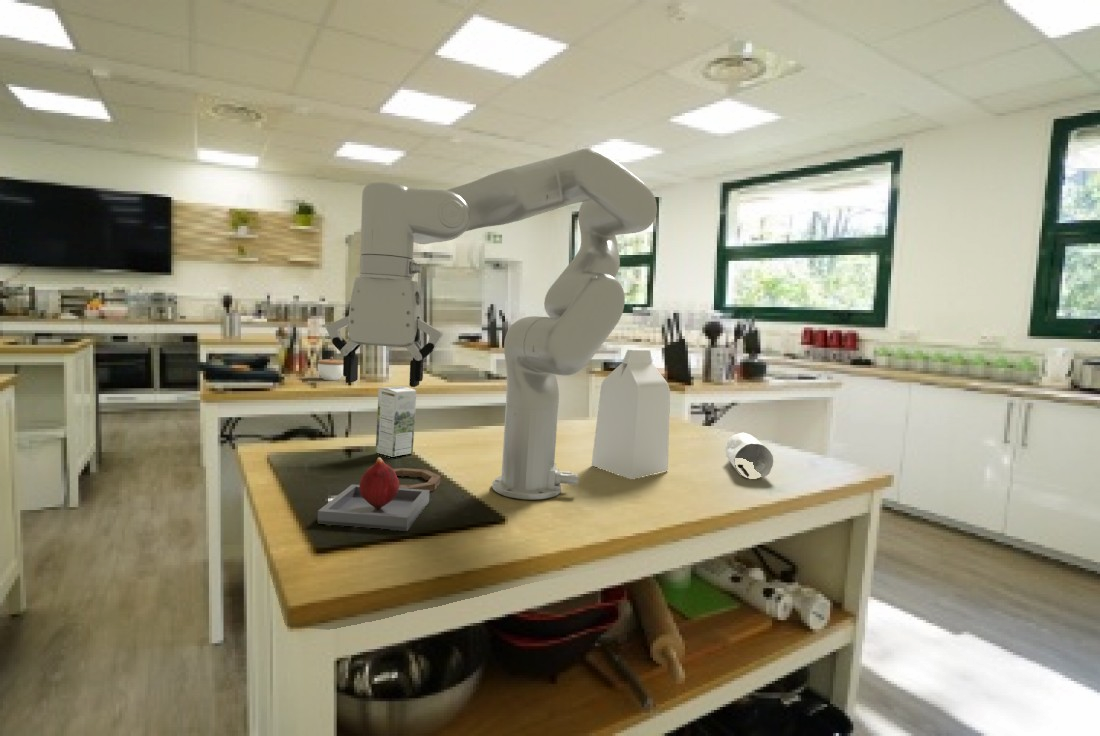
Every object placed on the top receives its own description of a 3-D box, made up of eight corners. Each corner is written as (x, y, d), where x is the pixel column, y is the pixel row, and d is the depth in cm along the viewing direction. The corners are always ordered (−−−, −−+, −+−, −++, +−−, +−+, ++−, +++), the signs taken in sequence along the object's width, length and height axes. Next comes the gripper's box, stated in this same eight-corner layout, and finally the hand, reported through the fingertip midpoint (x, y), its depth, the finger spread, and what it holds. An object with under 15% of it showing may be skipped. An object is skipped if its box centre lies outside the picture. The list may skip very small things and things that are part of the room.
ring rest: (444, 477, 109) (445, 471, 109) (429, 496, 97) (430, 490, 97) (382, 472, 109) (382, 466, 109) (360, 491, 97) (360, 484, 97)
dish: (429, 501, 95) (429, 490, 94) (407, 531, 82) (407, 517, 81) (351, 496, 95) (351, 484, 95) (317, 524, 82) (317, 511, 82)
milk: (631, 479, 116) (641, 352, 113) (591, 466, 124) (600, 347, 122) (667, 471, 124) (678, 352, 121) (627, 459, 132) (636, 347, 130)
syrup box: (396, 449, 127) (398, 385, 126) (413, 454, 124) (416, 388, 123) (374, 453, 123) (377, 387, 121) (392, 459, 119) (395, 390, 118)
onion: (405, 507, 90) (407, 457, 89) (380, 518, 85) (382, 465, 84) (376, 499, 92) (378, 451, 91) (350, 510, 87) (352, 458, 86)
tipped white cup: (752, 461, 139) (755, 429, 139) (771, 482, 121) (775, 445, 120) (719, 457, 140) (722, 426, 140) (732, 478, 122) (736, 441, 121)
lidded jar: (312, 378, 234) (312, 355, 233) (336, 377, 242) (337, 355, 241) (325, 381, 227) (326, 358, 226) (350, 380, 235) (350, 357, 234)
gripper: (449, 275, 88) (444, 384, 90) (339, 268, 89) (336, 377, 91) (438, 271, 81) (433, 390, 83) (318, 264, 81) (315, 383, 83)
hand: (382, 383), depth 87 cm, fingers open, 9 cm apart
